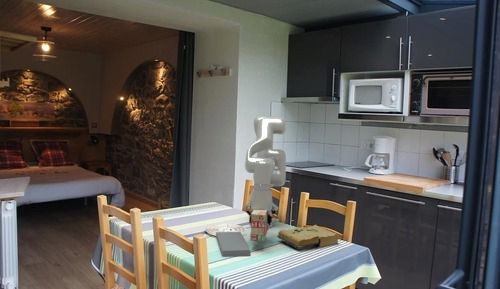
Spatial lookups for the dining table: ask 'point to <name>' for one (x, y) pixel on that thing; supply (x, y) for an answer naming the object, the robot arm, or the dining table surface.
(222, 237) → the grey plinth
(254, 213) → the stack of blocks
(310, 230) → the book
